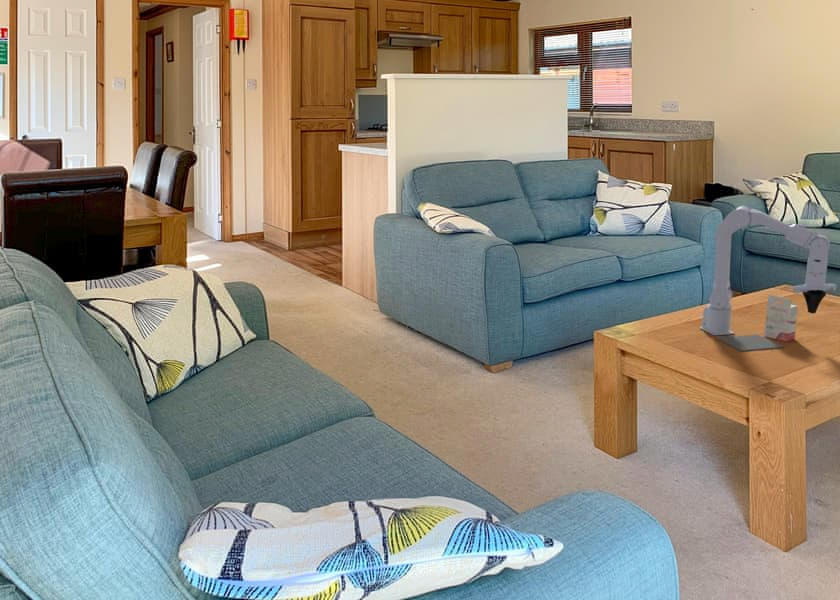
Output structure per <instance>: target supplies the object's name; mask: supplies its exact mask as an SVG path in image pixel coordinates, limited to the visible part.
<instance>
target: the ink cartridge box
mask: <svg viewBox="0 0 840 600" xmlns="http://www.w3.org/2000/svg"><path fill="white" fill-rule="evenodd" d="M776 300H777V301H776ZM778 300H780V301H778ZM798 309H799V305H795V304H792V299H791V298H789V297H783V296H778V295H773V294H769V295H768V298H767V304H766V311H765V313H766V314H765V322H764V323H765V324H764V325H765V326H764V336H763V337H764V338H771V339H774V340H777V341H778V340H779V341H783V342H790V341H793V340H795V337H796V328H797V320H798Z"/></svg>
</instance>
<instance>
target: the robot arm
mask: <svg viewBox="0 0 840 600" xmlns="http://www.w3.org/2000/svg"><path fill="white" fill-rule="evenodd" d="M749 223H750V224H749ZM748 224H749V225H750V226H751V227H753V226H760V225H761V226H764V227H765V228H768V229H770V230H773V231H775V232H778V233H780V234H783V235H784V236H785V239H786V240H787V241H789V242H791V243H793V244H796V245H798V246H800V247H802V248H804V249H809V253H808V254H809V255H808V258H807V264H806V273H805V283H804V284H799V285H793V286H792V293H794V294H800V293H802V295H803V297H804V299H805V303H806V308H807V312H808V314H816V313H817V311H818V308H819V306H820V304H821V302H822V300H823V299H824V298H825V297H826V296H827V295H826V294H827V293H826V291H837V284H835V283H833V282H832V283H826V278H827V271H828V262H829V259H828V257H829V251H830V248H831V247H830V246H831V245H830V244H831V242H830V239H829V237H828V236H826V235H825V234H824V233H819V231H817V230H815V231H813V230H811V229H809V228H806V227H805V225H804V224H803V223H799V224H798V223H794V224H791V225H790V224H787V223H785V222H784V221H782V220H780V219H777V218H775V217H774V216H771V215H769V214H767V213H765V212H763V211H761V210H758V209H756V208H750V207H749V206H746V205H740V206H737V207H736V208H734V209H733V210H732V211H731V212H730V213H728V214H727V215H726V217H725V218H724V219H723V221H722V222H721V223H720V224H719V225H718V227H717V228H716V230H715V231H716V236H715V257H714V260H715V261H714V280H713V285H712V293H711V294H710V295H709V303H708V304H707V305H706V306H705V307H704V309H703V311H702V323H701V325H702V326H699V329H701V330H702V331H705V332H707V333H708V334H710V335H712V336H722V335H723V336H724V335H726V336H727V335H734V334H735V331H732V330H730V327H731V318H732V305H731V304H730V301H731V300H732V299H733V296H734V294H733V291H732V289H731V280H730V275H731V274H730V273H731V253H732V252H731V250H732V249H731V248H732V235H733V234H734V233H735V232H736V231H738V230H741V229H743V228H745V227H747V226H748ZM735 335H736V334H735Z"/></svg>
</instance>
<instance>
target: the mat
mask: <svg viewBox="0 0 840 600" xmlns="http://www.w3.org/2000/svg"><path fill="white" fill-rule="evenodd" d="M716 340H718V341H720V342H722V343H723V344H726V345H728V346H730V347H732V348H733V349H735V350H738V351H739V352H750V351H751V352H752V351H760V350H761V351H762V350H763V351H765V350H773V349H784V348H785V346H784V345H782V344H779V343H778V342H775V341H773V340H770V339H769V338H767V337H765V336H762V335H759V334H746V335H735V336H724V337H723V336H722V337H721V336H720V337H716Z"/></svg>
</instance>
